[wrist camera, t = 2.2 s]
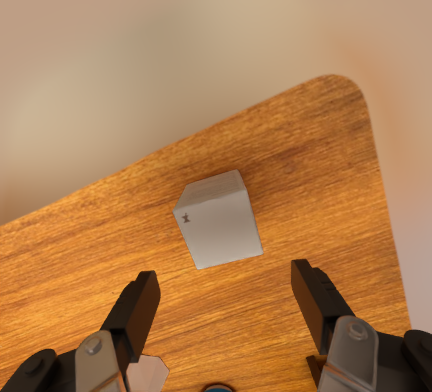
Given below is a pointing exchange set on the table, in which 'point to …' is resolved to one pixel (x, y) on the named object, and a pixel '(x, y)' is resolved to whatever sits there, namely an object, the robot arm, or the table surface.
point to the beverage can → (218, 389)
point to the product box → (218, 220)
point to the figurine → (147, 374)
